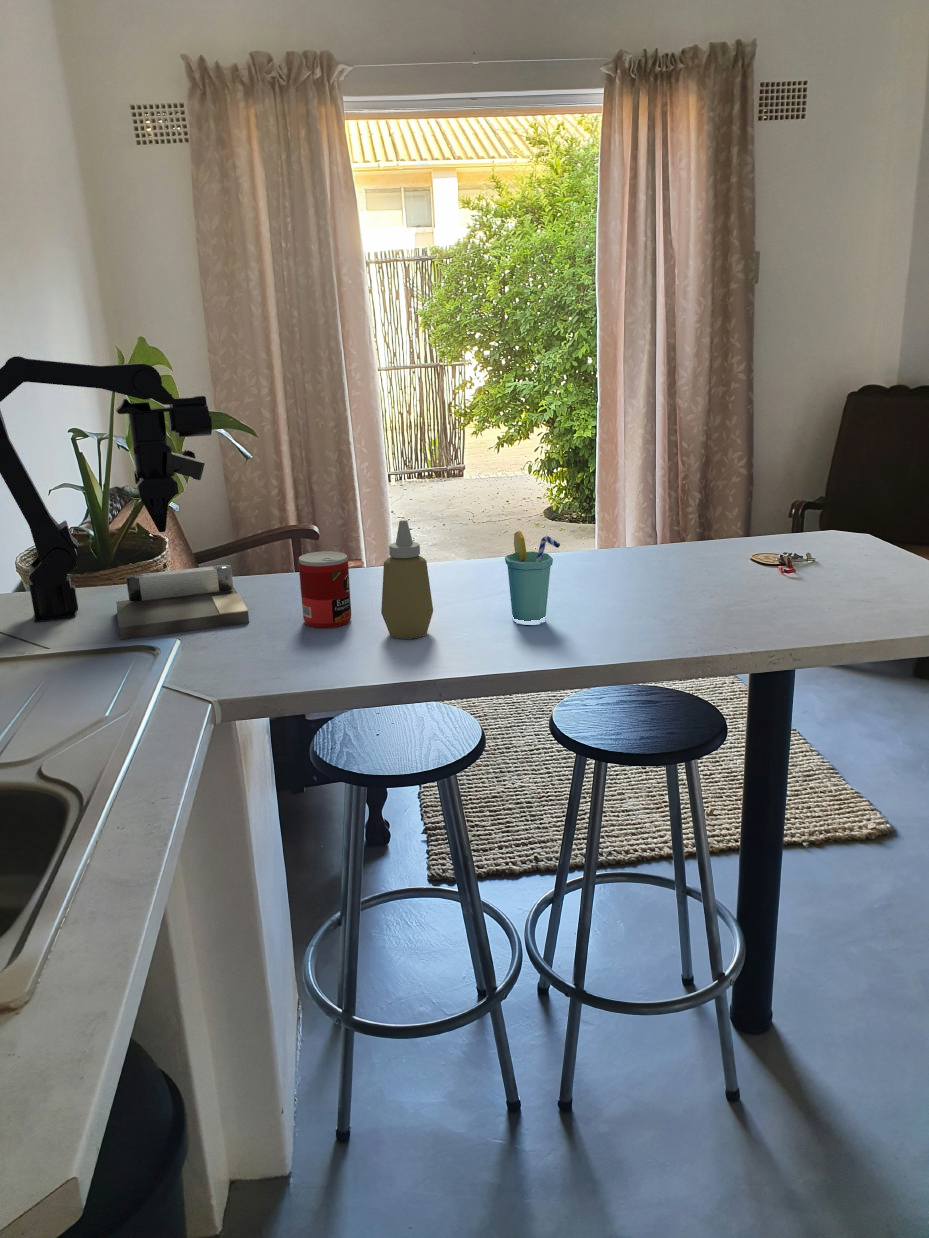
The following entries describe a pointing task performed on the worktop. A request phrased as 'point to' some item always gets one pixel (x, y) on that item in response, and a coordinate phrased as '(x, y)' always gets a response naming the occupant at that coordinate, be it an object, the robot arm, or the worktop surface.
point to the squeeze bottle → (406, 588)
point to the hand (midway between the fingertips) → (161, 529)
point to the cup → (529, 579)
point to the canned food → (325, 589)
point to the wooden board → (180, 613)
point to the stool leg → (179, 582)
